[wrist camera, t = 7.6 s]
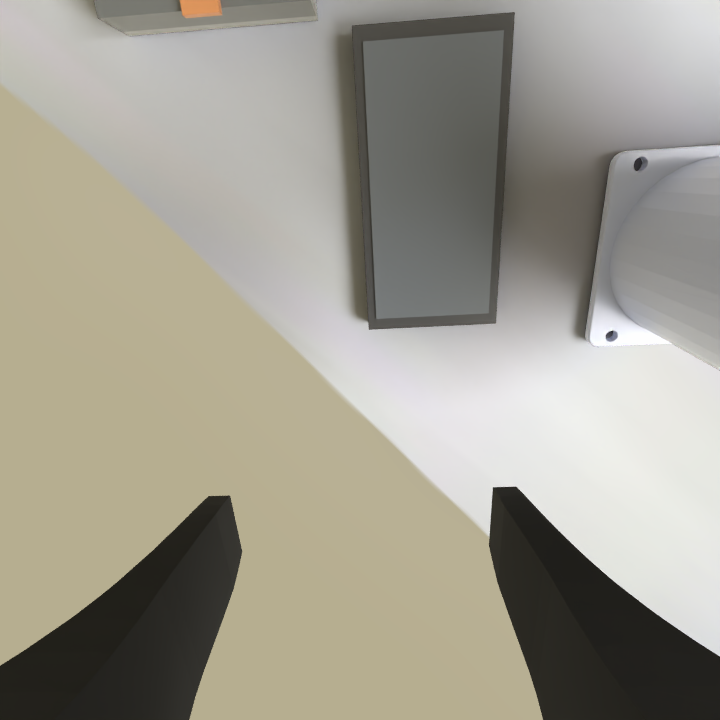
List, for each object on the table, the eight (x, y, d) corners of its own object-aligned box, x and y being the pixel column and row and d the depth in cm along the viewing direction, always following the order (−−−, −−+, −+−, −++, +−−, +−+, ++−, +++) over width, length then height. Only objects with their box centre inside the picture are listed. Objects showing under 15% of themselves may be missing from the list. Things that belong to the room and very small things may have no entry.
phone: (506, 21, 16) (515, 11, 15) (489, 316, 20) (496, 324, 19) (353, 34, 16) (352, 24, 15) (369, 322, 20) (368, 330, 19)
